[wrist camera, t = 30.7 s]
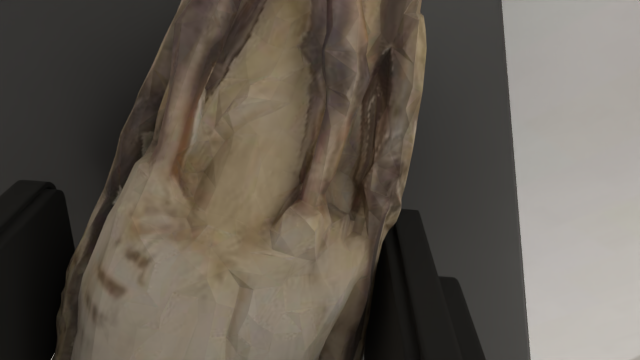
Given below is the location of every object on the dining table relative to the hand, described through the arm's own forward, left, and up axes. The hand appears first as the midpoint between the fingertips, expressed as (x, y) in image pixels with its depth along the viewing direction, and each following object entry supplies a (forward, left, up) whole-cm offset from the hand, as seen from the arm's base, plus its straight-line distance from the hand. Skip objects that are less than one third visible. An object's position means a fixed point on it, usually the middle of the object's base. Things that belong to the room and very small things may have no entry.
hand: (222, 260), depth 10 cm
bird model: (+2, -1, +5) cm, 5 cm away
